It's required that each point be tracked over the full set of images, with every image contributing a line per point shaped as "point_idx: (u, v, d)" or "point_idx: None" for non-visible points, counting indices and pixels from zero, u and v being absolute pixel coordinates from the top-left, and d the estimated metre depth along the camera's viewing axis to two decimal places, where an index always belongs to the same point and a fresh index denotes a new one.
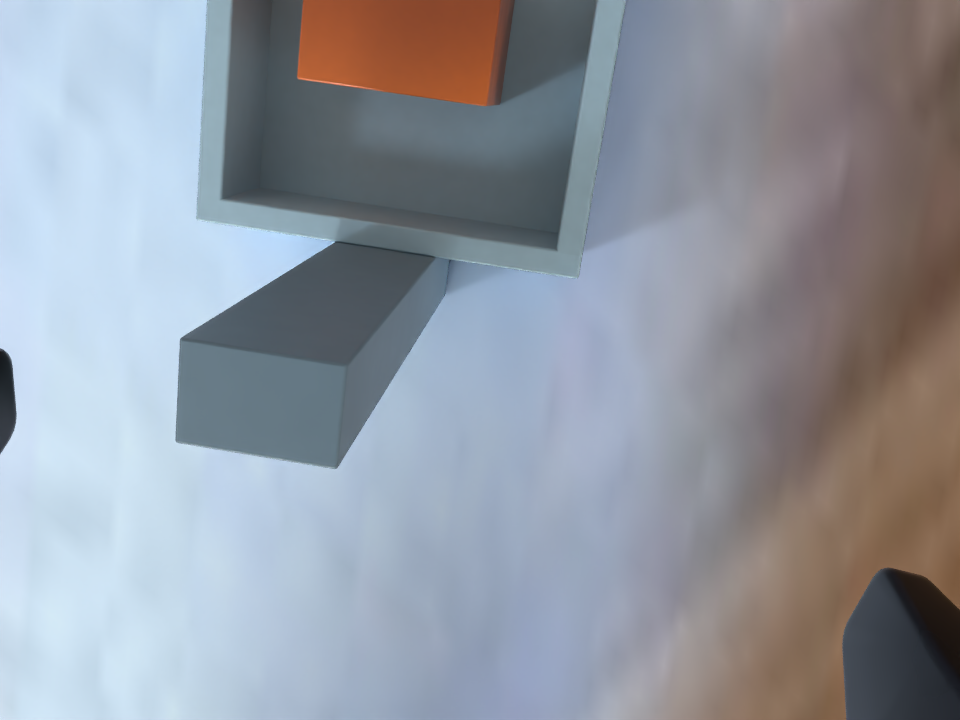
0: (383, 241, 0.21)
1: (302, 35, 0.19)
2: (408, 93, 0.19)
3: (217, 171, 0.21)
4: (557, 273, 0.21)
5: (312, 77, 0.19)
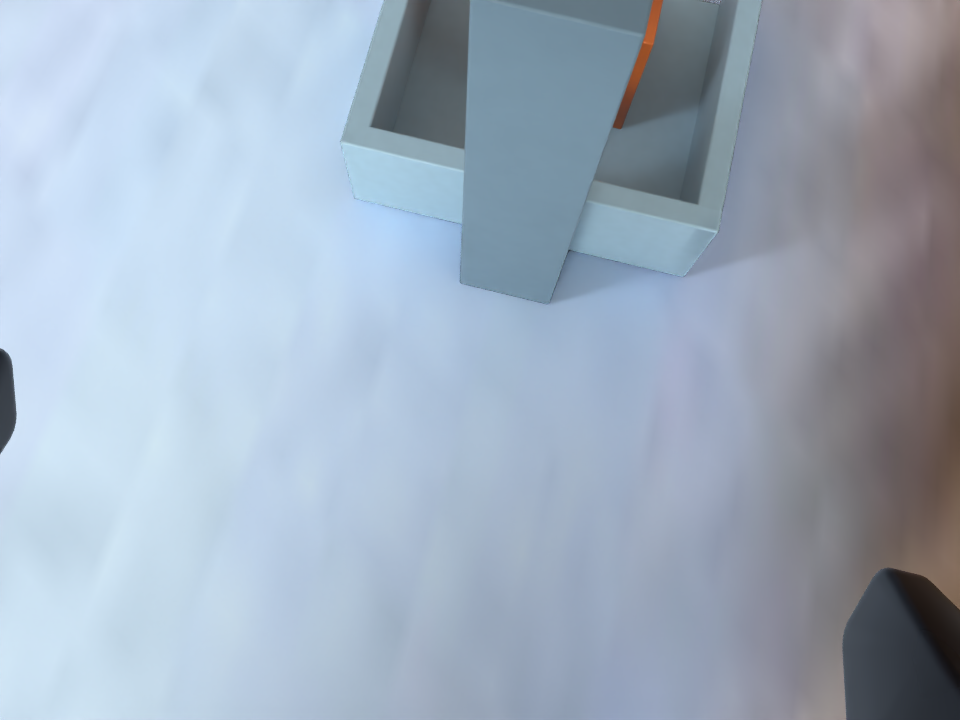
0: None
1: None
2: None
3: (372, 102, 0.21)
4: (698, 224, 0.21)
5: None
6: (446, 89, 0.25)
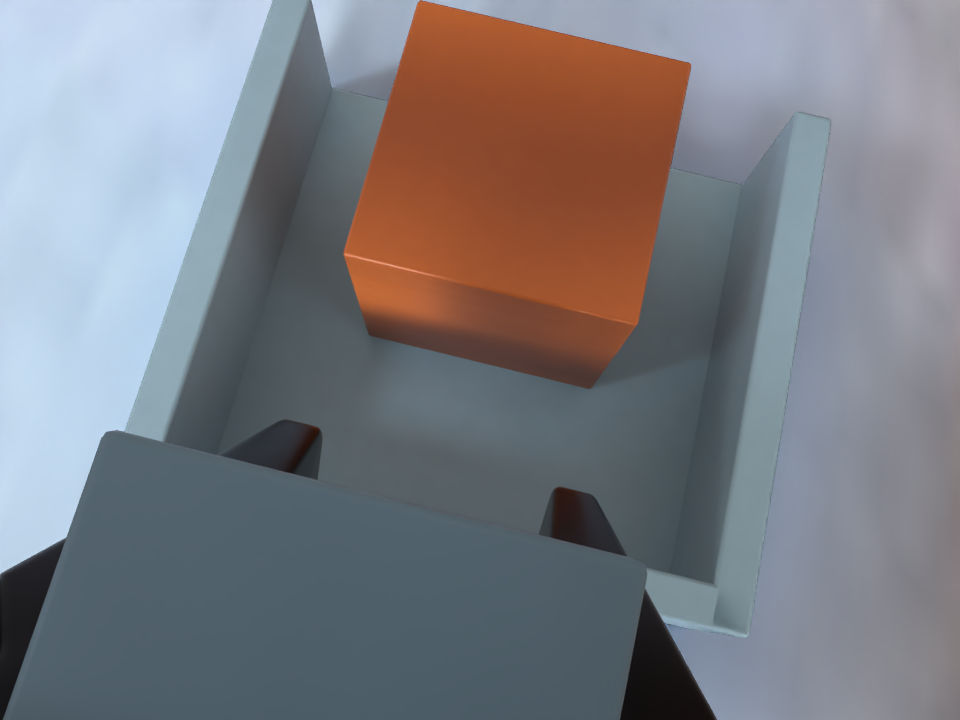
0: None
1: (363, 197, 0.12)
2: (516, 294, 0.12)
3: (166, 403, 0.13)
4: (715, 625, 0.12)
5: (368, 253, 0.12)
6: (321, 325, 0.16)
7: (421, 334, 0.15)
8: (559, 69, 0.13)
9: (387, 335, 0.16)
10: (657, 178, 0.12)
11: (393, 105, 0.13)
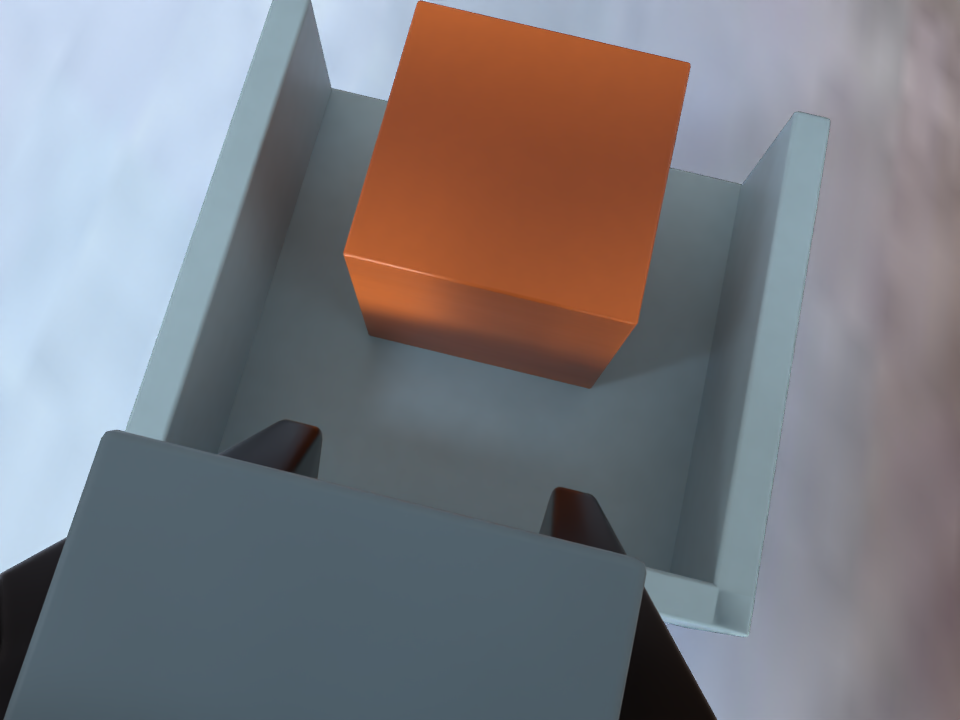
0: None
1: (363, 197, 0.12)
2: (516, 294, 0.12)
3: (166, 403, 0.13)
4: (715, 624, 0.12)
5: (367, 254, 0.12)
6: (321, 325, 0.16)
7: (421, 334, 0.15)
8: (559, 68, 0.13)
9: (387, 335, 0.16)
10: (657, 178, 0.12)
11: (393, 105, 0.13)
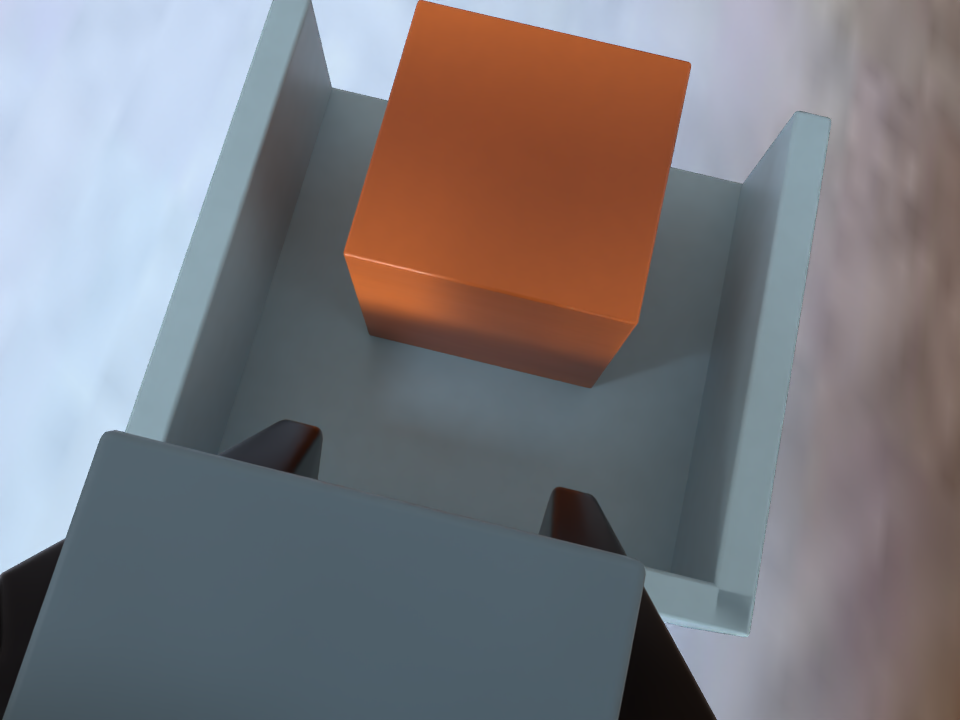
0: None
1: (363, 196, 0.12)
2: (516, 293, 0.12)
3: (167, 403, 0.13)
4: (716, 624, 0.12)
5: (368, 253, 0.12)
6: (321, 325, 0.16)
7: (421, 334, 0.15)
8: (559, 67, 0.13)
9: (387, 334, 0.16)
10: (657, 177, 0.12)
11: (393, 105, 0.13)
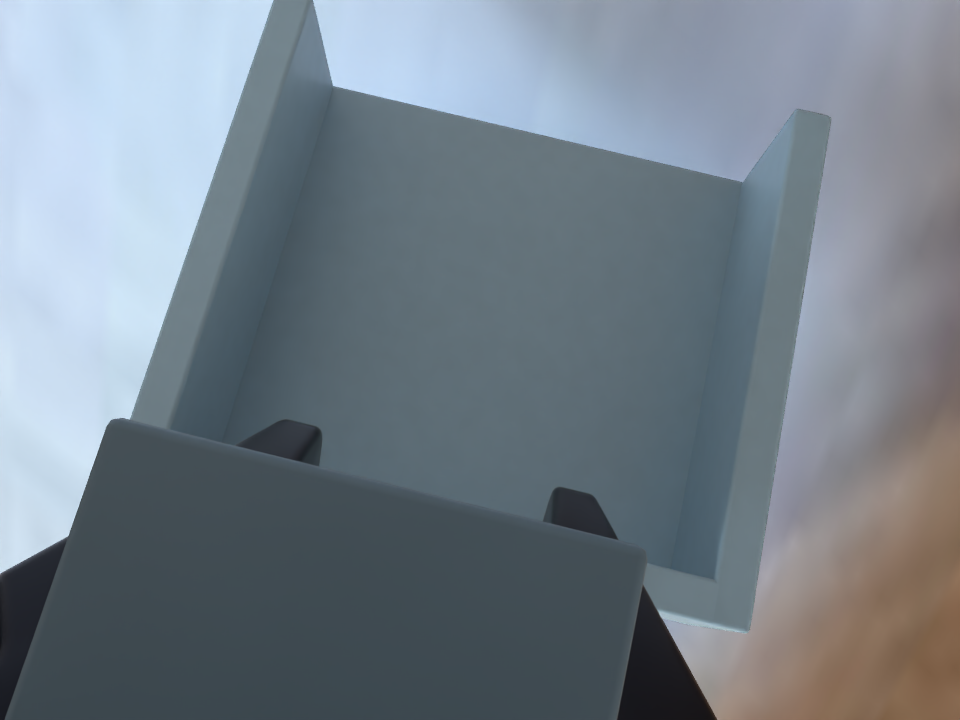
0: None
1: None
2: None
3: (168, 400, 0.13)
4: (716, 620, 0.12)
5: None
6: (322, 323, 0.16)
7: None
8: None
9: None
10: None
11: None
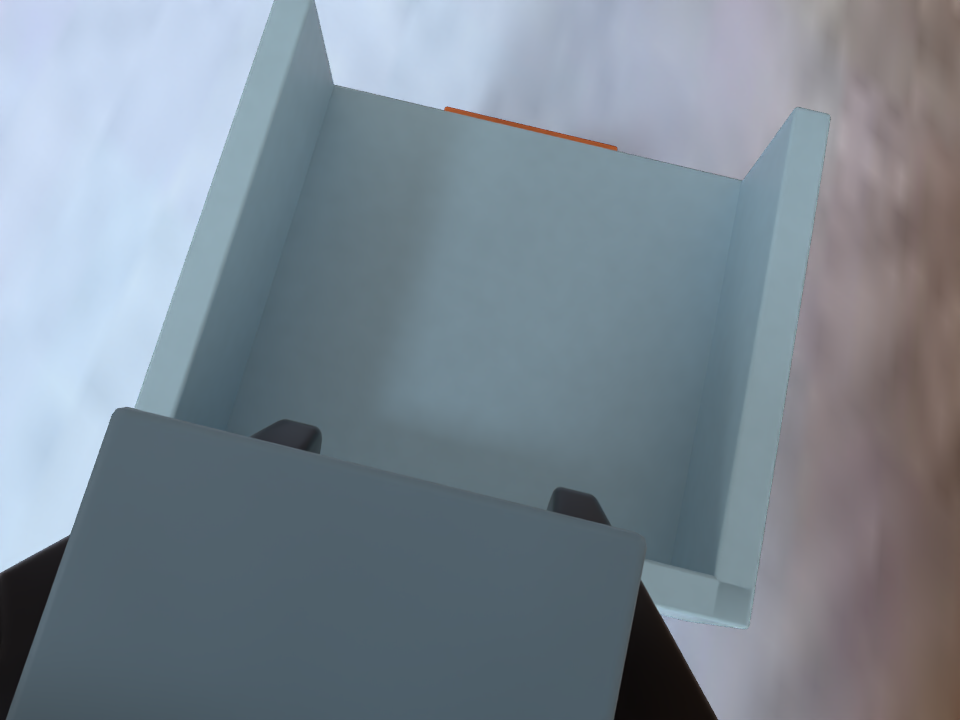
0: None
1: None
2: (546, 130, 0.21)
3: (170, 397, 0.13)
4: (715, 616, 0.12)
5: (459, 110, 0.21)
6: (323, 320, 0.16)
7: None
8: None
9: None
10: None
11: None
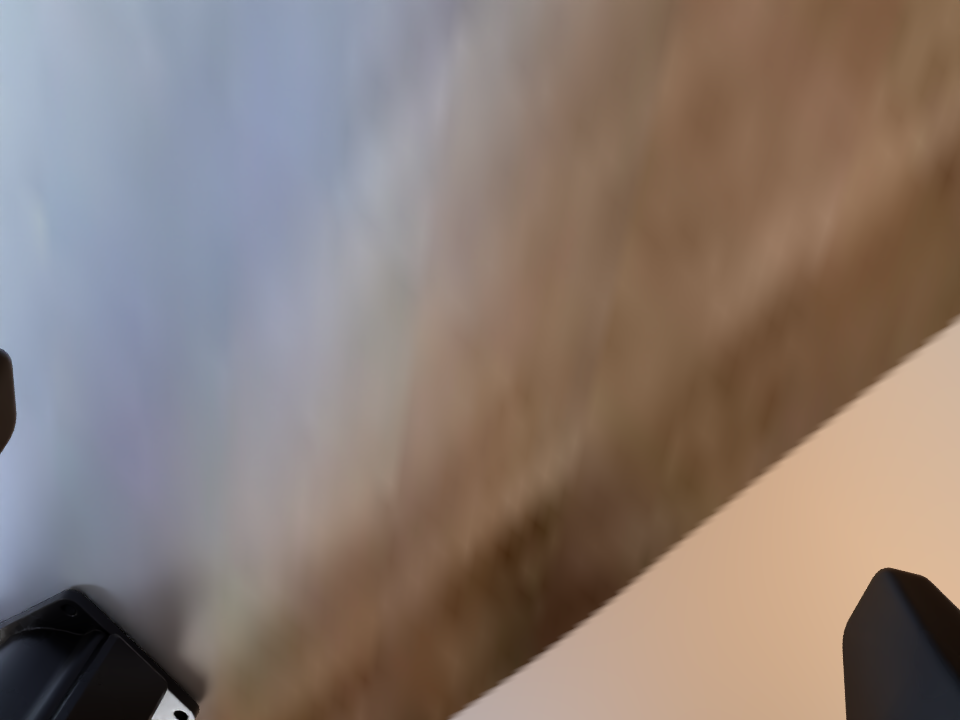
0: None
1: None
2: None
3: None
4: None
5: None
6: None
7: None
8: None
9: None
10: None
11: None
